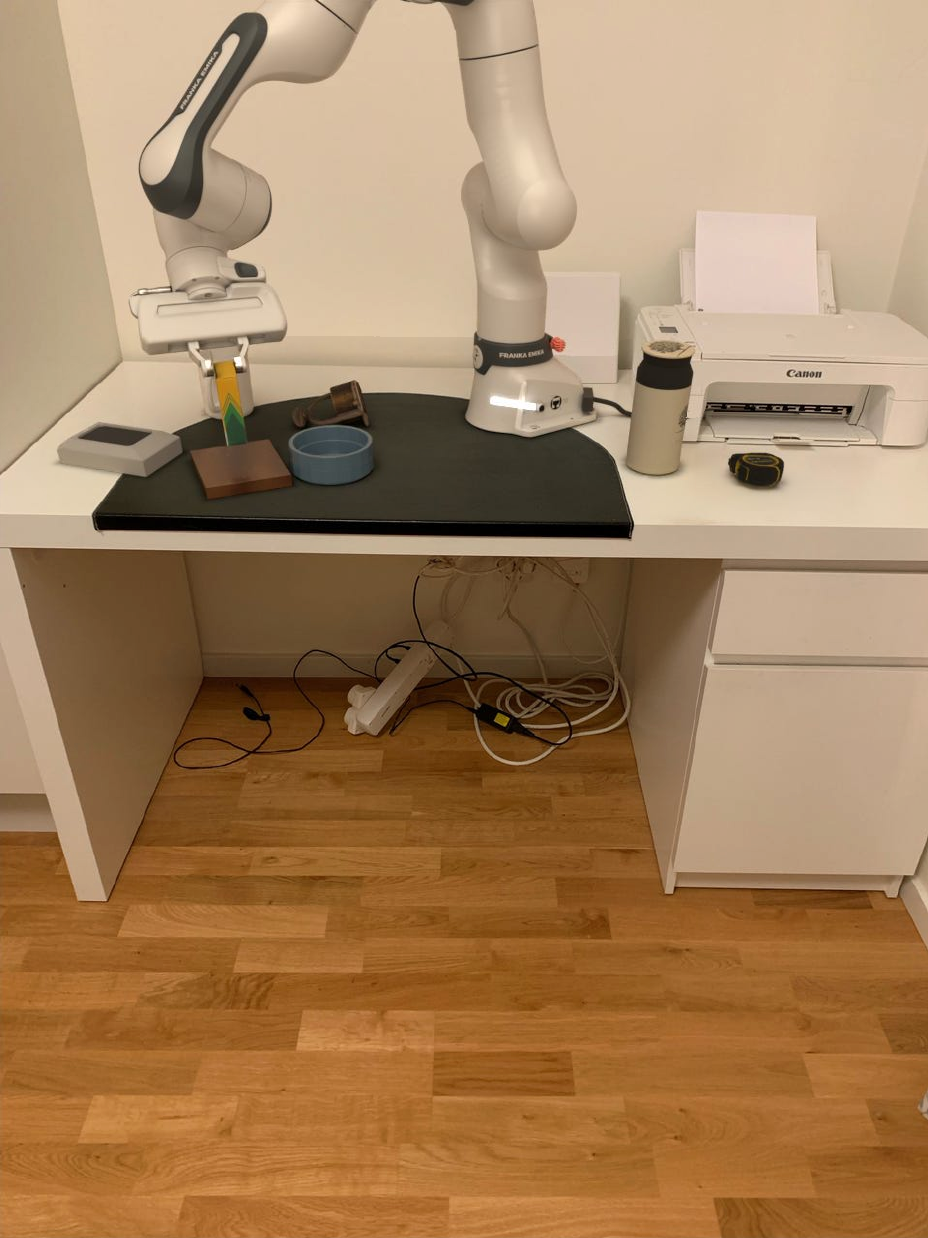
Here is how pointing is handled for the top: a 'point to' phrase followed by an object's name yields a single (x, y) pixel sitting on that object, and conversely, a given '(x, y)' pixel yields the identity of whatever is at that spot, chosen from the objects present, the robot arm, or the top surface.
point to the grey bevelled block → (120, 449)
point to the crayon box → (230, 402)
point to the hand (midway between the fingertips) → (225, 373)
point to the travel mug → (660, 407)
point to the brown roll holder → (337, 406)
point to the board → (240, 469)
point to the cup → (210, 384)
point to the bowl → (331, 454)
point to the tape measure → (757, 468)
